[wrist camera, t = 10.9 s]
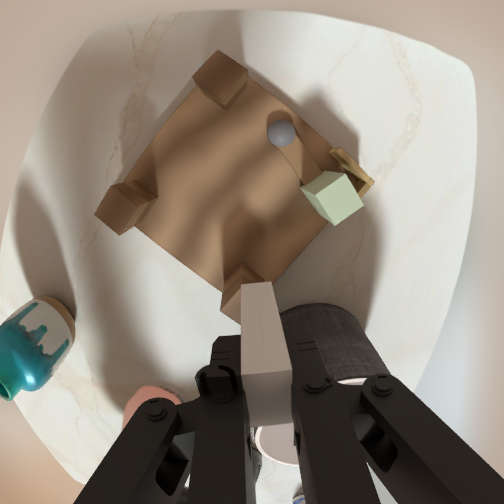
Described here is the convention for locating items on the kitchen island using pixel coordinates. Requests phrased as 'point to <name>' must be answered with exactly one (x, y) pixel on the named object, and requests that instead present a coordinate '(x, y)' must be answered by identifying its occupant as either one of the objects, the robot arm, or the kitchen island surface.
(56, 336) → the vase
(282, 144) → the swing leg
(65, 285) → the kitchen island surface
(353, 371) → the planter
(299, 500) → the supplement tub
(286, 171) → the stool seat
